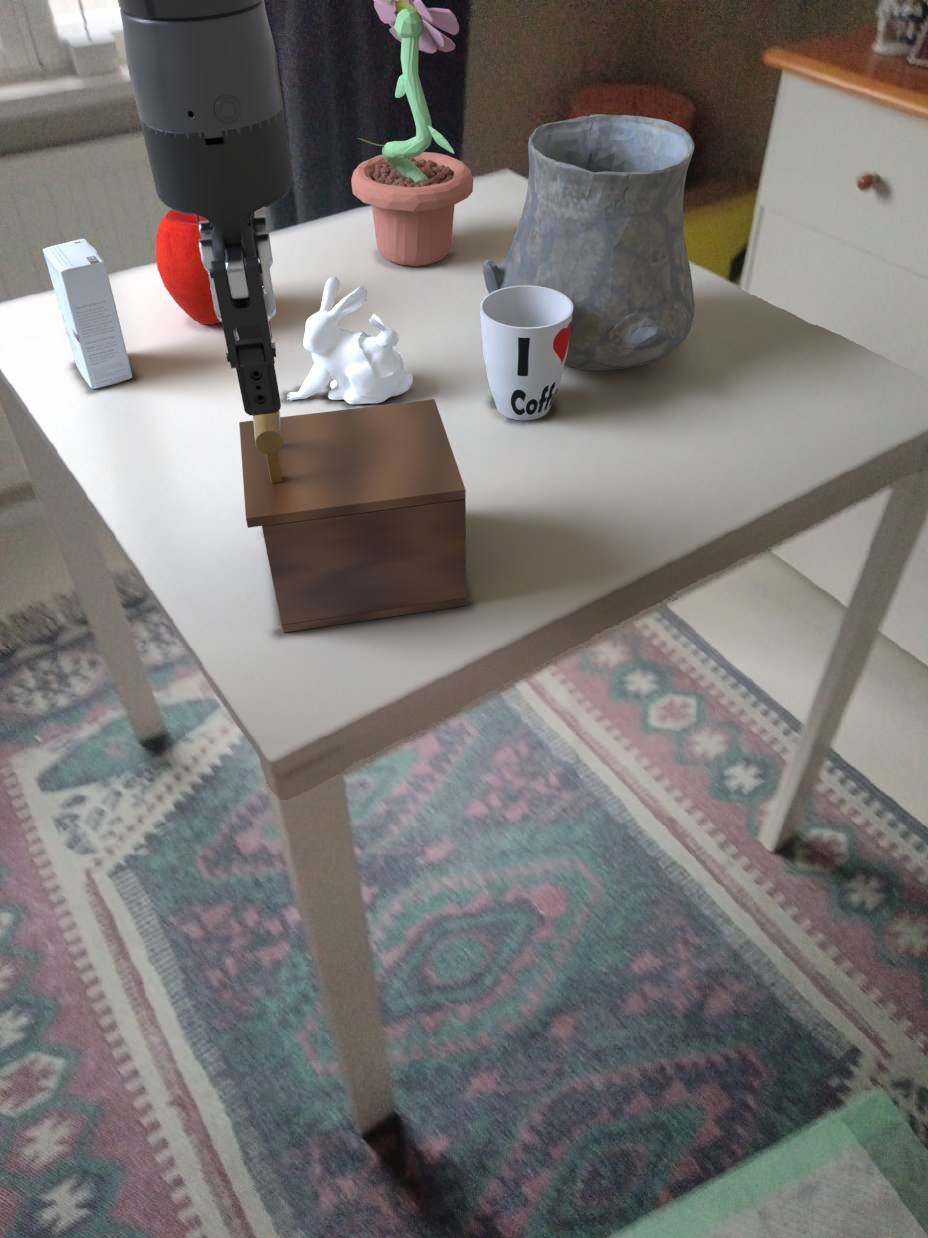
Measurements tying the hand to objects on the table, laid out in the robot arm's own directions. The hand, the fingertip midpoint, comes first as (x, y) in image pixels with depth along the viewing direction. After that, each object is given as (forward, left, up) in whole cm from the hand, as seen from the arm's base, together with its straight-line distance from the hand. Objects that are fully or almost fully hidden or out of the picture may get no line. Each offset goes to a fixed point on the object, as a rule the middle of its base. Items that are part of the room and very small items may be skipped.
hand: (260, 375), depth 63 cm
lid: (+5, 0, -8) cm, 9 cm away
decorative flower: (+19, +55, -18) cm, 61 cm away
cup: (+23, +20, -18) cm, 35 cm away
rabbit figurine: (+8, +27, -18) cm, 33 cm away
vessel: (+33, +29, -18) cm, 47 cm away
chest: (+5, 0, -17) cm, 18 cm away
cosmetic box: (-16, +35, -18) cm, 42 cm away
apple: (-5, +44, -18) cm, 48 cm away
